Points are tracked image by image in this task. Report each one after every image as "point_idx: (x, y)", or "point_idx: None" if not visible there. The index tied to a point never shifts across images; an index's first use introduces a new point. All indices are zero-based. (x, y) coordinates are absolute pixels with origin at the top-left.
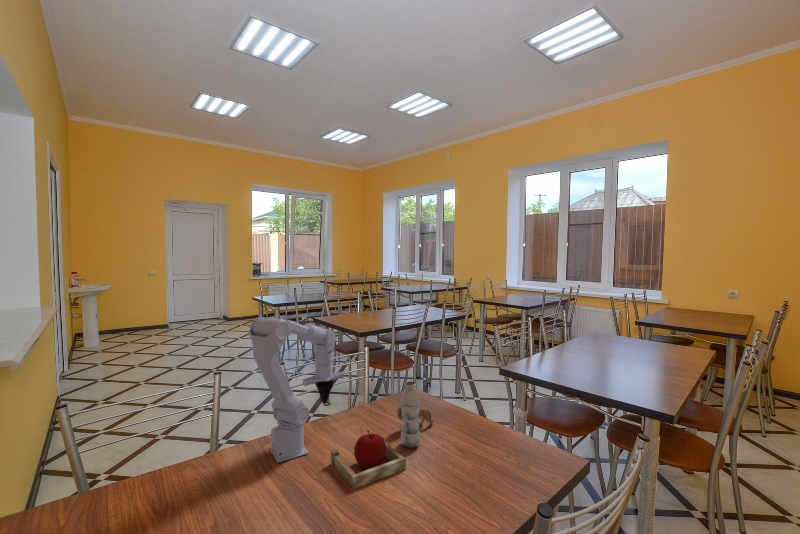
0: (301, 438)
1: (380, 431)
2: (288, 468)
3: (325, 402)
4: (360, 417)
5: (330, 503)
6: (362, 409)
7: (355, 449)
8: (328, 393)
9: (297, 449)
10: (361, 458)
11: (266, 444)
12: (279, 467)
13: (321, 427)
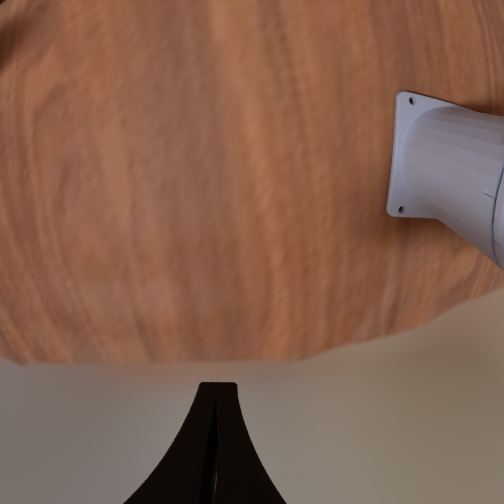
0: (467, 118)
1: (7, 124)
2: (479, 60)
3: (218, 385)
4: (48, 293)
5: None
6: (40, 342)
7: None
8: (179, 452)
9: (457, 109)
10: None
11: (462, 278)
12: (496, 92)
13: (231, 304)
